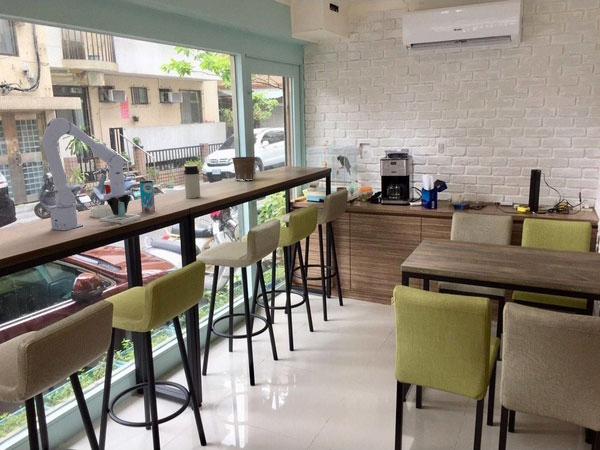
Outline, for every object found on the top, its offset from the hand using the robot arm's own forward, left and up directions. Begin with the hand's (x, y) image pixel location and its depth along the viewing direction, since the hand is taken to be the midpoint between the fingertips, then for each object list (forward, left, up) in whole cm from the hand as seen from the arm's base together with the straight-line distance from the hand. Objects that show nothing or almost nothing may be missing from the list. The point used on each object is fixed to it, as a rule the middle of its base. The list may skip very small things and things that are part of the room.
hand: (120, 213), depth 218 cm
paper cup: (+22, +25, -3) cm, 33 cm away
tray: (0, 0, -3) cm, 3 cm away
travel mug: (+66, +10, -3) cm, 67 cm away
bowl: (+6, +14, -3) cm, 16 cm away
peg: (0, 0, -1) cm, 1 cm away
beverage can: (+19, +1, -3) cm, 19 cm away
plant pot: (+141, +21, -3) cm, 143 cm away
